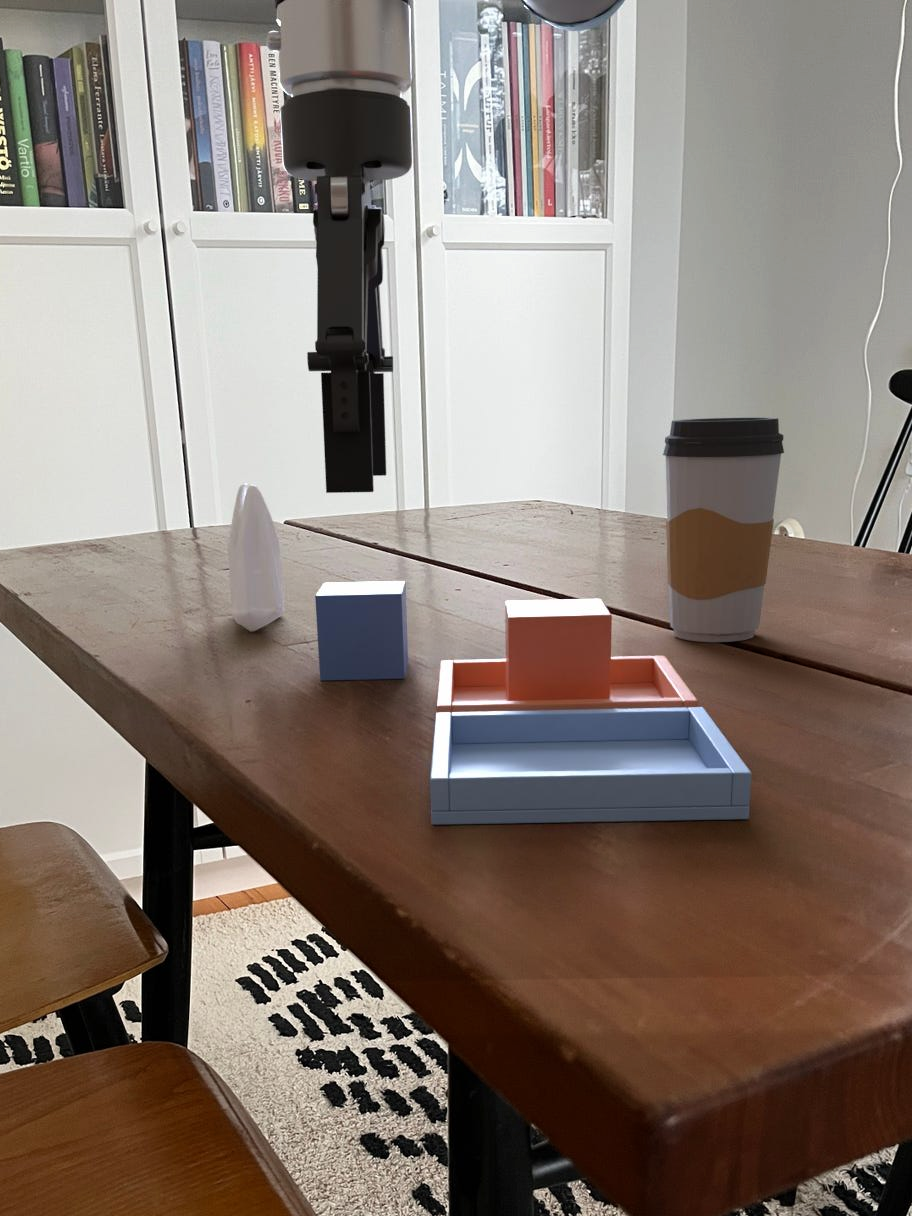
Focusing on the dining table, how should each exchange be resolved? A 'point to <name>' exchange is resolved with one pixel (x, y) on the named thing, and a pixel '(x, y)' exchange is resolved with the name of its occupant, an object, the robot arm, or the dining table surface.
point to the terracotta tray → (629, 688)
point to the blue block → (362, 630)
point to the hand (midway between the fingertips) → (358, 483)
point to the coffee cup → (719, 523)
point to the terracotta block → (557, 649)
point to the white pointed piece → (254, 562)
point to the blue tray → (584, 767)
